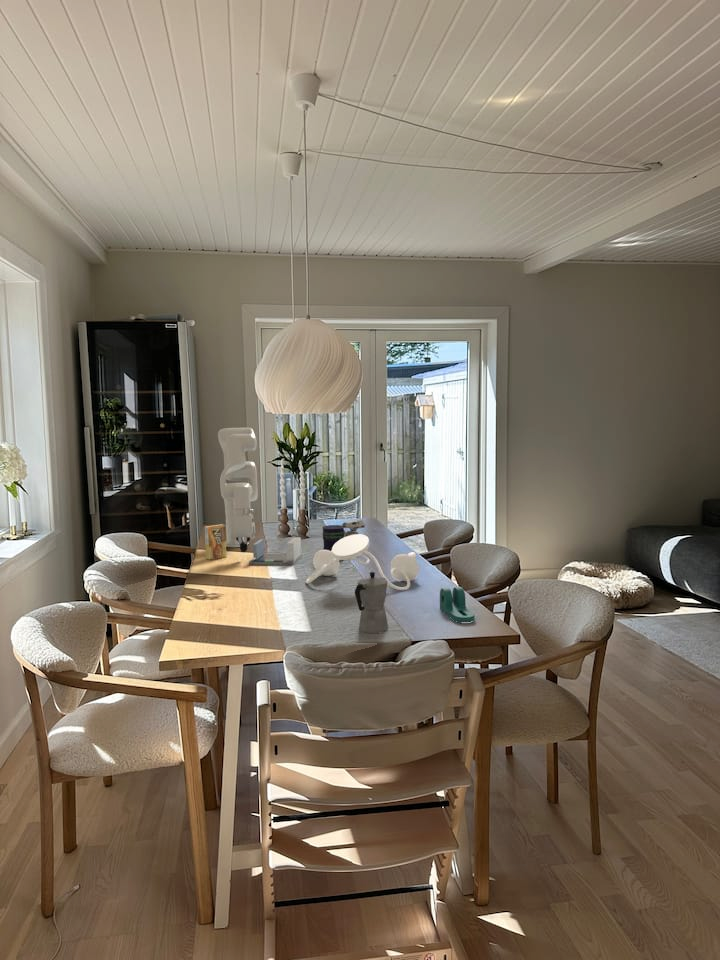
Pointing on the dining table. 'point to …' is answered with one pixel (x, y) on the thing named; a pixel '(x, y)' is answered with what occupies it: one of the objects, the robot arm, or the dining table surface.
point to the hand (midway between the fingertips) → (243, 551)
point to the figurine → (353, 527)
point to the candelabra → (356, 546)
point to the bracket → (455, 605)
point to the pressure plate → (258, 549)
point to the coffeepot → (372, 604)
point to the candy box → (215, 541)
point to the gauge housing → (281, 555)
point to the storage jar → (332, 535)
